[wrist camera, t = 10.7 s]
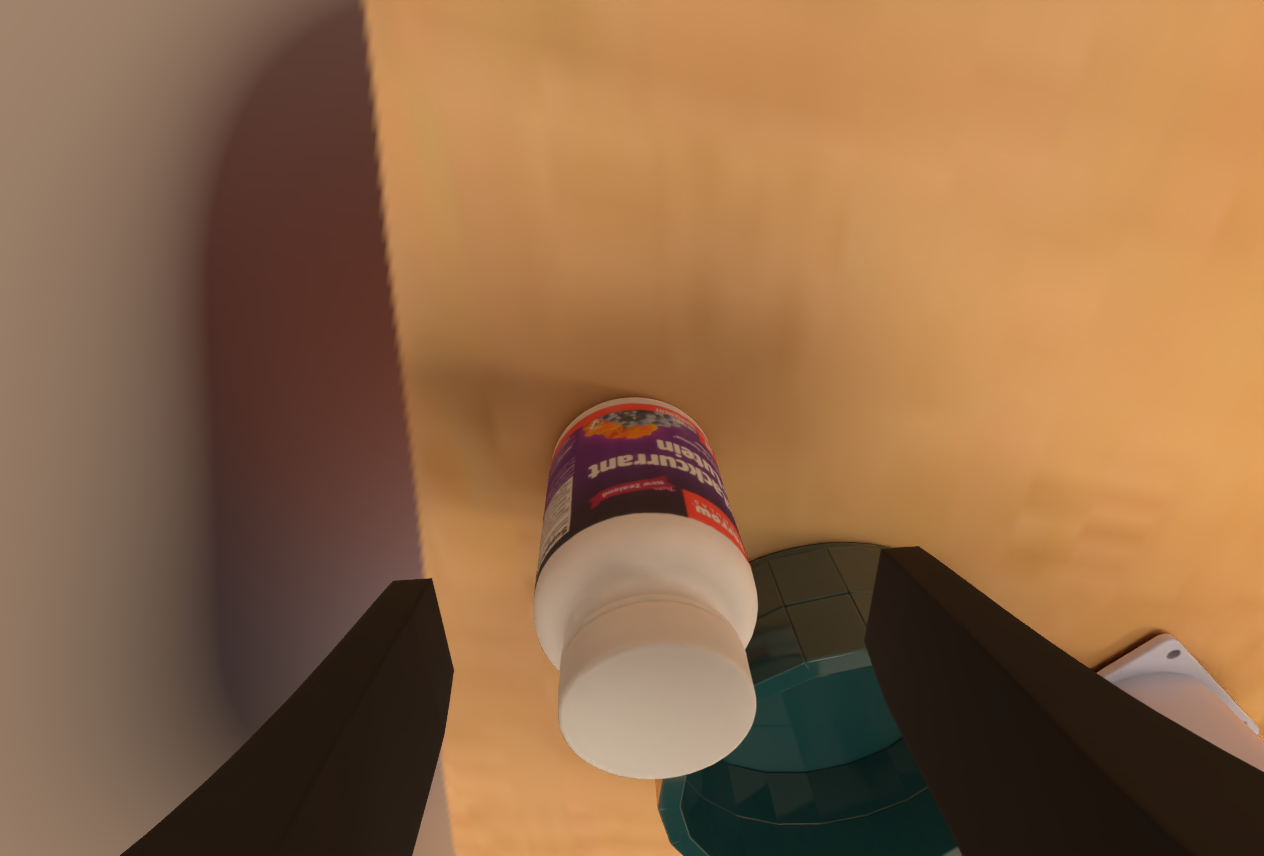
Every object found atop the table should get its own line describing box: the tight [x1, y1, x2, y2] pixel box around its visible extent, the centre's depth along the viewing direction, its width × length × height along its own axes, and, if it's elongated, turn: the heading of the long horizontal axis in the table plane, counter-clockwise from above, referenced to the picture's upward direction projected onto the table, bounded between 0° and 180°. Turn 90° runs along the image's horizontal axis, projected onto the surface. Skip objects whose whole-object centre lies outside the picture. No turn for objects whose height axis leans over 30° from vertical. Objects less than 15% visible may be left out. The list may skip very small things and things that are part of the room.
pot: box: [655, 543, 962, 856], centre depth 24 cm, size 14×14×5 cm
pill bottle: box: [534, 397, 758, 779], centre depth 17 cm, size 5×5×10 cm
